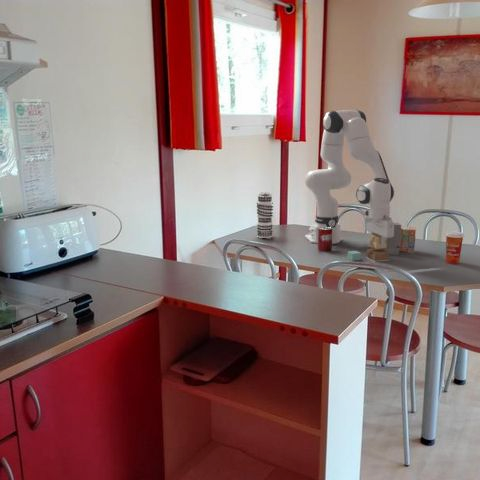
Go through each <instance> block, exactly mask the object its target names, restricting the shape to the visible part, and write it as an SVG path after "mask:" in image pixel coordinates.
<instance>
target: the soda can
mask: <svg viewBox="0 0 480 480" xmlns="http://www.w3.org/2000/svg"><path fill="white" fill-rule="evenodd" d="M332 239H333V229H332V228H331V227H319V228H318V243H317V252H319V253H321V252H324V253H325V252H326V253H327V252H333V244H332Z"/></svg>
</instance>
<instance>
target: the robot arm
mask: <svg viewBox="0 0 480 480" xmlns="http://www.w3.org/2000/svg"><path fill="white" fill-rule="evenodd" d="M322 126H323V128H324V129H323V133H322V139H321V146H320V147H321V148H320V158H321V160H322V161H323V162H325V163H327V169H326V168H324V169H321V168H320V169H314V170H310V171H309V172H307V173H306V175H305V178H304V179H305V182H304V183H305V185H306V187H307V188H308V189H309V190H310V191H311V192H312V193H313V195H314V197H315V200H316V215H315V220H314V222H313V224H312V225H310V227H309V228H308V231H307V232H308V234H305V235H304V237H305V238H306V240H308V242H309V243H310V244H311V243H312V244H318V228H319V227H331V228H332V229H333V239H332V245H334V244H339V243H340V242H341V241H343V240H344V239H343V237H341V235H342V234H341V225H340V224H339V219H340V218H339V201H338V200H337V199H336V198H335V197H334V196H332V195H331V191H332V190H342V189H344V188H347V187H349V186H350V184H351V182H352V176H351V173H350V171H349V170H348V169H347V168H346V167H345V165H344V161H343V160H344V159H343V153H344V142H345V137H346V144H347V150H348V153H349V154H350V156H351V157H352V158H354V159H355V160H357V161H360V162H363V163H365V164H367V165H369V167H370V168H371V170H372V172H373V176H374V178H373V179H372V180H371V181H370V182H367V183H363V184H360V185H359V186H357V189H356V193H355V196H356V199H357V201H358V203H359V204H361V205H370V207H369V209H367V210H365V211H364V230H365V231H368V232H370V236H372V235H376V234H378V235H380V236H381V238H382V239H381V241H380V245H385V241H386V239H387V238H392V237H393V236H394V224H393V223H394V221H393V220H392V217H391V214H390V213H391V206H390V203H391V201H392V200H393V199H394V196H395V190H394V187H393V185H392V183H391V181H390V179H389V176H388V172H387V170H386V167H385V165H384V161H383V158H382V156H381V154H380V152H379V151H378V150H377V149H376V148H375V146H374V145H373V142H372V139H371V134H370V130H369V127H368V124H367V116H366V114H365V112H363V111H361V110H358V109H355V110H353V109H344V110H343V109H342V110H341V109H340V110H332V111H327V112H326V113H325V115H324V116H323V120H322Z"/></svg>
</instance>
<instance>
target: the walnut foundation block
mask: <svg viewBox="0 0 480 480" xmlns="http://www.w3.org/2000/svg"><path fill="white" fill-rule="evenodd" d="M366 257H367V258H366V259H368V258H369V259H368V260H370V259H371V260H370V261H372V260H373V261H372V262H374V261H377V262H384V261H383V260H388V261H389V255H388V251H386V250H384V249H381V248H379V249H370V248H369V249H368V248H367V249H366Z"/></svg>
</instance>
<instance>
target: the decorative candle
mask: <svg viewBox="0 0 480 480" xmlns="http://www.w3.org/2000/svg"><path fill="white" fill-rule="evenodd" d="M272 197H273V195H272V193H271V192H267V191H264V192H260V193H259V194H258V195H257V202H256V211H257V212H256V214H257V225H256V226H257V228H256V229H257V231H256V232H257V234H256V235H257V236H256V237H257V238H258V237H259V238H258V239H262V238H267V239H272V238H273V214H274V212H272V211H273V210H274V205H273V204H274V202H273V200H272ZM271 237H272V238H271Z"/></svg>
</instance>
